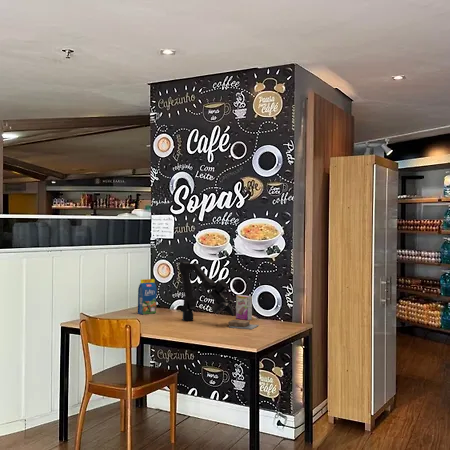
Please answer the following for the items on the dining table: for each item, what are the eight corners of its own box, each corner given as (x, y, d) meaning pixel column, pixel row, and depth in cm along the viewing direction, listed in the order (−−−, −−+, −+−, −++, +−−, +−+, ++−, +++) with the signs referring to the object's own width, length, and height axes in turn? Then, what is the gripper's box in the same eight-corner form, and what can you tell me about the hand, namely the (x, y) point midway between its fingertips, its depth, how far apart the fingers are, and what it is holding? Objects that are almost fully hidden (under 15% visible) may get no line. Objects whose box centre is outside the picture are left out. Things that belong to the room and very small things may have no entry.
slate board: (228, 327, 360) (228, 326, 360) (237, 324, 375) (237, 323, 375) (251, 329, 355) (251, 328, 355) (258, 325, 370) (258, 325, 370)
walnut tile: (228, 321, 363) (244, 323, 360) (233, 319, 373) (249, 320, 369) (228, 325, 363) (244, 327, 360) (233, 323, 373) (249, 325, 369)
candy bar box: (235, 318, 400) (235, 295, 400) (240, 318, 404) (240, 294, 404) (247, 320, 392) (247, 296, 393) (252, 319, 396) (252, 296, 396)
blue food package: (156, 313, 417) (157, 279, 418) (142, 314, 410) (143, 279, 410) (151, 312, 422) (152, 278, 423) (137, 313, 414) (138, 279, 415)
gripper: (214, 303, 382) (230, 321, 378) (204, 306, 365) (219, 325, 361) (226, 292, 380) (241, 310, 376) (216, 295, 362) (232, 314, 358)
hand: (233, 315), depth 368 cm, fingers closed
